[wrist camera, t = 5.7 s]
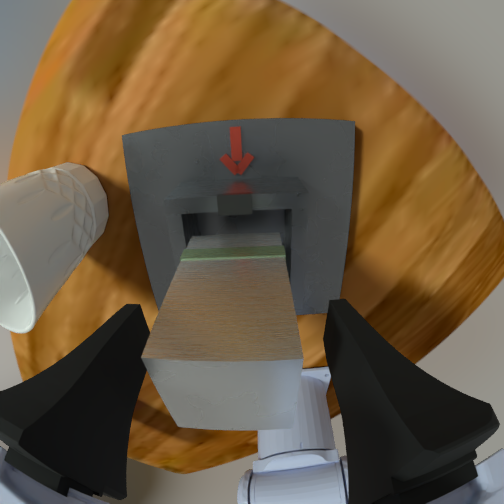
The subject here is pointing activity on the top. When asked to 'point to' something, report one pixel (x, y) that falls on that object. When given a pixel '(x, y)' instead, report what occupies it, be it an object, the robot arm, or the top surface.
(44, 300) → the white cup
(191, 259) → the steel column
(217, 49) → the top surface
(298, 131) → the gray frame
